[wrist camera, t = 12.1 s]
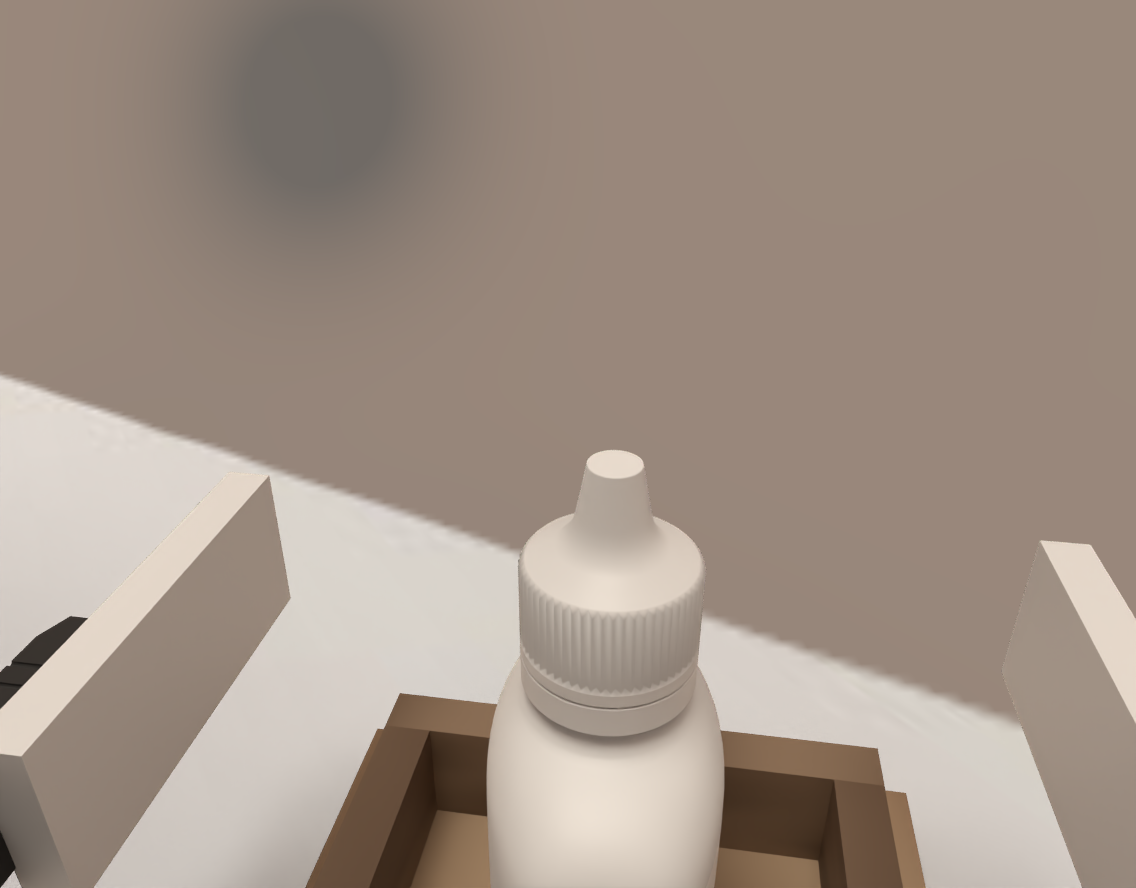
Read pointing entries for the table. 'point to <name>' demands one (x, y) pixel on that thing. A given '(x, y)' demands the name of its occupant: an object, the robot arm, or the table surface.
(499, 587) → the table surface
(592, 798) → the eye dropper bottle
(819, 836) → the square wooden tray stand
